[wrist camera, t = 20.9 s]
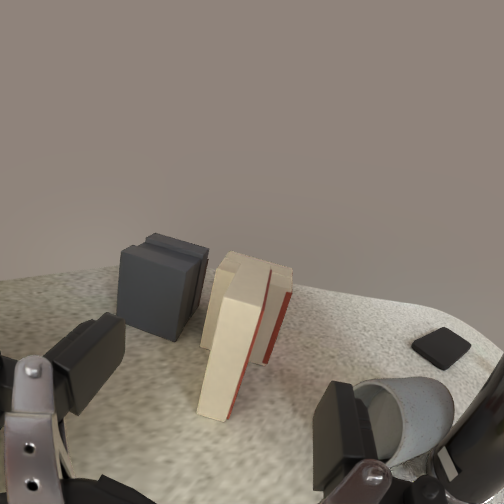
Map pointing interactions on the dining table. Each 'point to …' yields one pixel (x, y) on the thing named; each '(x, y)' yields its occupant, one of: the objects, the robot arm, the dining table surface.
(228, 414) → the thin ivory book
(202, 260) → the grey books
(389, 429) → the ceramic mug
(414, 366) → the dining table surface
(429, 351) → the phone
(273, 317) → the ivory books
